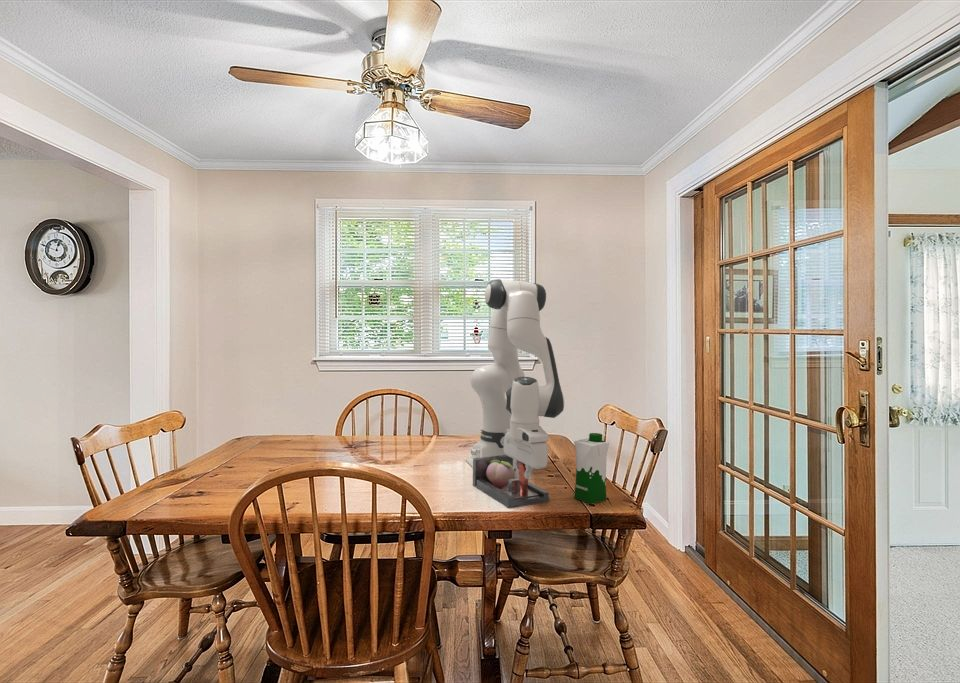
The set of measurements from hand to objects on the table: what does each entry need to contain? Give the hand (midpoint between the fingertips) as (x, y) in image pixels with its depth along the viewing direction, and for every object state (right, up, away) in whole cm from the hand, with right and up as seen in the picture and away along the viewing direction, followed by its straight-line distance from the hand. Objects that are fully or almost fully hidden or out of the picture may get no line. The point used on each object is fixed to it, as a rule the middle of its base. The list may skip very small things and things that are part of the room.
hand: (523, 476), depth 157 cm
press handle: (-1, -8, +2) cm, 8 cm away
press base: (-4, -7, +8) cm, 12 cm away
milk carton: (+21, -8, +3) cm, 22 cm away
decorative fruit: (-6, -7, +13) cm, 16 cm away
